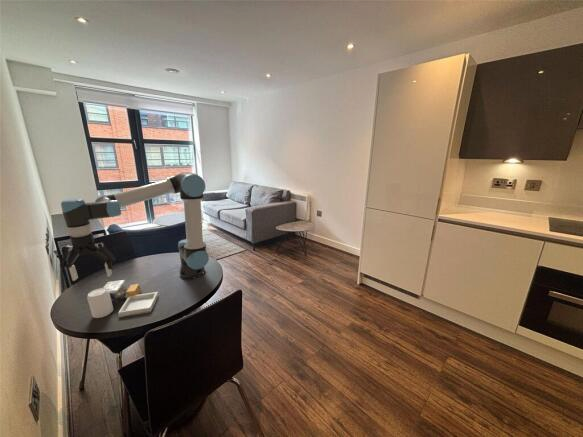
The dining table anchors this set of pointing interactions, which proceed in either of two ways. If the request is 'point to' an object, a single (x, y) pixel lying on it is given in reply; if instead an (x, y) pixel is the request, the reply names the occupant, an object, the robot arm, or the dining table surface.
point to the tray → (138, 304)
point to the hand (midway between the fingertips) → (93, 277)
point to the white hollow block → (116, 290)
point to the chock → (133, 290)
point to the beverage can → (100, 302)
